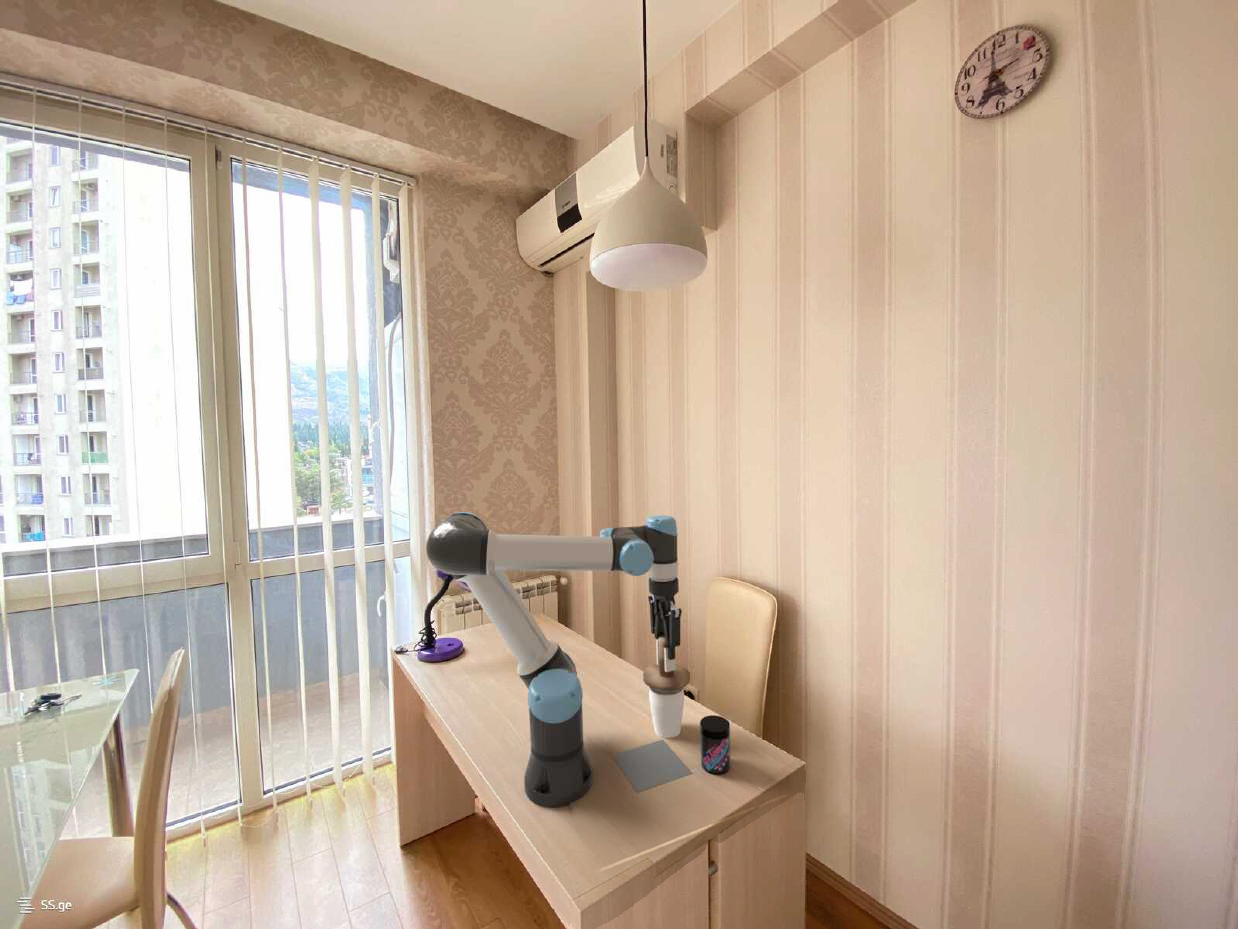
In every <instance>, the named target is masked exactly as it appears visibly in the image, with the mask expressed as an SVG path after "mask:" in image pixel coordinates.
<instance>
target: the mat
mask: <svg viewBox="0 0 1238 929" xmlns="http://www.w3.org/2000/svg"><path fill="white" fill-rule="evenodd" d="M611 758H612V759H613V761H614V762H615V763H616V766H618V767H619V769H620V770H621V772H622V773H623V775H624V777H625V778H626V779H627V781H628V782H629V784H630V785H631V786H632V789H634V791H635V792H636V794H638V793H641V792H644V791H647V790H650V789H652V788H655V787H658V786H661V785H664V784H666V783H669V782H670V783H671V782H672V781H676V780H678V779H681V778H683V777H687V776H690V775H692V774H693V772H692V770H691V769H690V768H689V767H688V766H687V764H685V763H684V761H683V760H682V759H681V758H680V757H679V756H678V755H677V753H676V752H675V751H674V750H673V749H672V748H671V747H670V746H669V745H668V743H667V742H665V740H664V739H660V740H657V741H653V742H650V743H647V744H645V745H641V746H640V745H639V746H637V747H634V748H631V749H628V750H624V751H622V752H617V753H615V754H612V755H611Z"/></svg>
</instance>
